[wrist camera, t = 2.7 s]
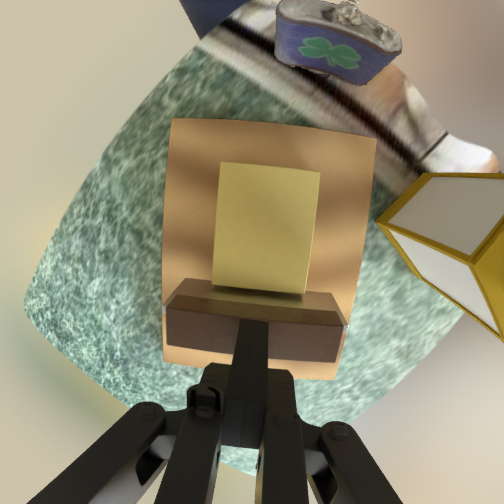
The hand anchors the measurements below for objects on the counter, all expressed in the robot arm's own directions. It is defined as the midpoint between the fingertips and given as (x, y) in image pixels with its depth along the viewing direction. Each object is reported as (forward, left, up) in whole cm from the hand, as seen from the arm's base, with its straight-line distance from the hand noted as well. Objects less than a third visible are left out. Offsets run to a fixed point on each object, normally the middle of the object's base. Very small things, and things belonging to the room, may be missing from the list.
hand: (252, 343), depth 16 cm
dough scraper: (0, 0, -9) cm, 9 cm away
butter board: (-2, 0, -13) cm, 13 cm away
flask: (-21, +4, -13) cm, 25 cm away
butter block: (-5, 0, -11) cm, 12 cm away
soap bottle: (-9, +17, -13) cm, 23 cm away
